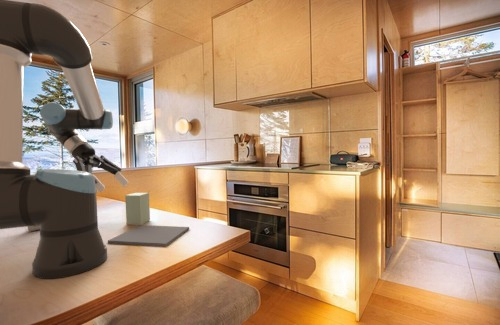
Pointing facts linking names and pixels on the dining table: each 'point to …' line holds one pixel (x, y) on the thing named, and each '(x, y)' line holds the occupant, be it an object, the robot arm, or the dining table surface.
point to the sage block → (137, 208)
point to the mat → (149, 235)
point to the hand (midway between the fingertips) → (115, 187)
